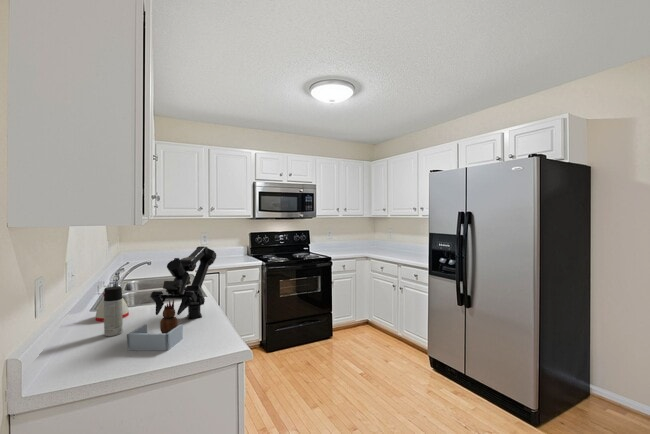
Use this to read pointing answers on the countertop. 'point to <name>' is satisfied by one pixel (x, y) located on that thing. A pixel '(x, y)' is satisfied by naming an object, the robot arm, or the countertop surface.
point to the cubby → (153, 339)
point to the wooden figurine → (168, 319)
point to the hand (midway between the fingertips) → (167, 314)
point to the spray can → (113, 311)
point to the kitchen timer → (101, 310)
